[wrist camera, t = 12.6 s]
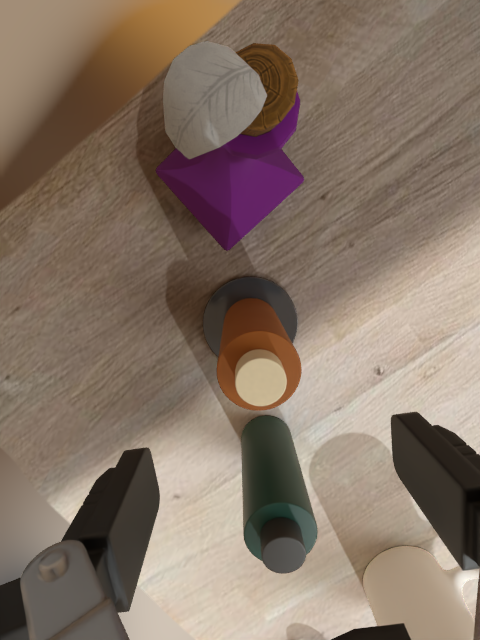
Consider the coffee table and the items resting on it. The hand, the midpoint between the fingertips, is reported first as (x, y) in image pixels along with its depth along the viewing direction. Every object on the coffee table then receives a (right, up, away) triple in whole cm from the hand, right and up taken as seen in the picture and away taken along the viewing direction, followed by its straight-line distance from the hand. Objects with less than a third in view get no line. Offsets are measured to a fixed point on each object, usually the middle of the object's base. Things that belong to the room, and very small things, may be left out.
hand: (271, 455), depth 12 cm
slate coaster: (0, +4, +19) cm, 19 cm away
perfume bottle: (-2, +15, +16) cm, 22 cm away
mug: (+17, -21, +25) cm, 36 cm away
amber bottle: (0, +4, +18) cm, 19 cm away
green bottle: (+1, -6, +21) cm, 22 cm away
